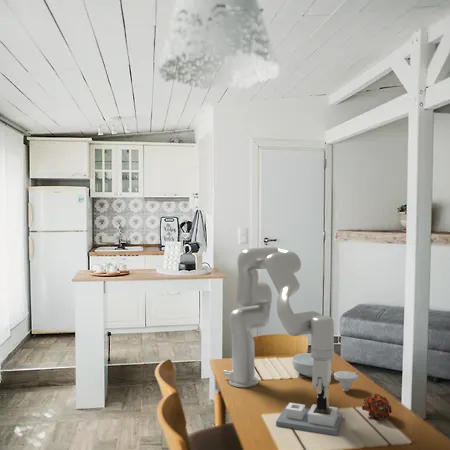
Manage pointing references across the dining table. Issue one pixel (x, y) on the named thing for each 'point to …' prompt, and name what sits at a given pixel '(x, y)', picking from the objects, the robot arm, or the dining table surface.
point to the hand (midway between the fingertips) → (323, 405)
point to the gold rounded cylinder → (327, 403)
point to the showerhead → (346, 378)
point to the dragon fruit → (377, 406)
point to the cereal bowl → (303, 364)
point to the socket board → (310, 419)
